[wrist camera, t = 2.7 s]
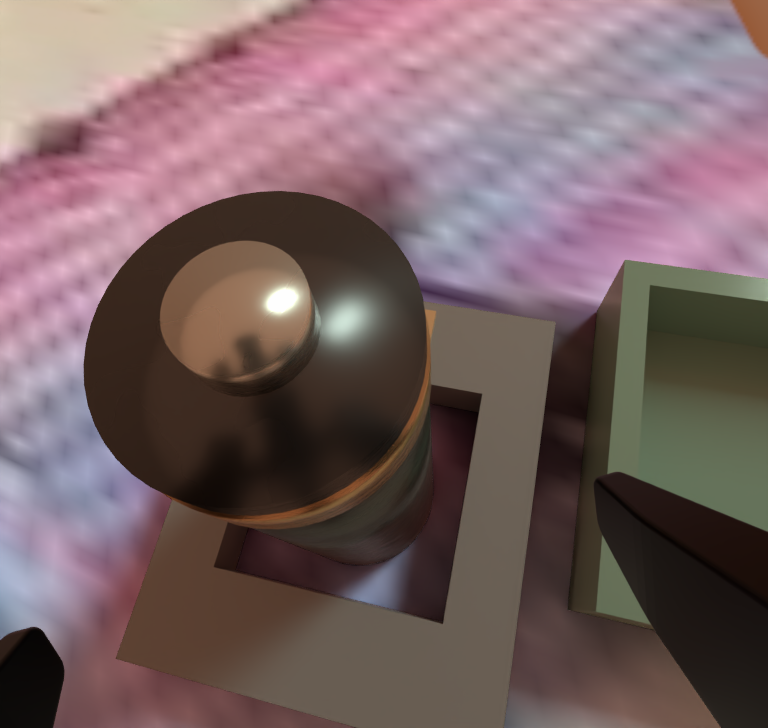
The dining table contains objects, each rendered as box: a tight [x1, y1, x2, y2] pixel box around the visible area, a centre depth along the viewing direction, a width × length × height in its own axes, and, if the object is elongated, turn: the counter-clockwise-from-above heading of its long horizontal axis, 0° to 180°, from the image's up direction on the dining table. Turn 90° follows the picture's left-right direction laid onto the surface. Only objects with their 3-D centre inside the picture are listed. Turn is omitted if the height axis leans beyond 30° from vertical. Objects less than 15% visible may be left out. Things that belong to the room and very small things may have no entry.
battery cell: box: [84, 191, 434, 565], centre depth 14 cm, size 5×5×13 cm
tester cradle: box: [116, 302, 556, 728], centre depth 19 cm, size 13×11×2 cm
